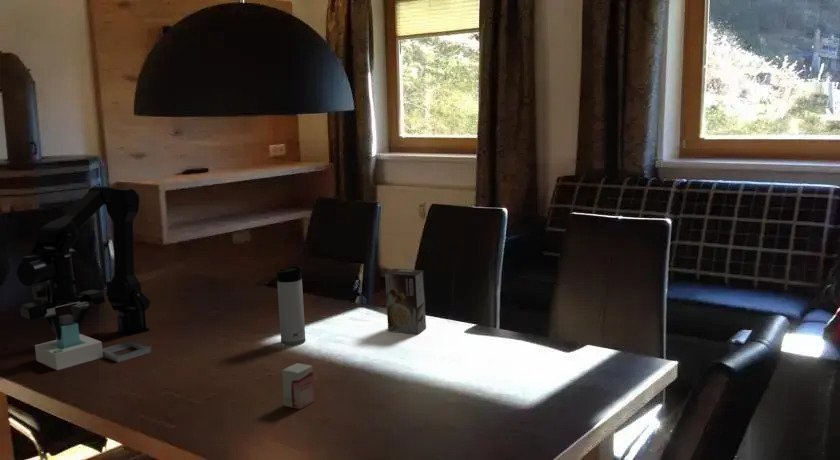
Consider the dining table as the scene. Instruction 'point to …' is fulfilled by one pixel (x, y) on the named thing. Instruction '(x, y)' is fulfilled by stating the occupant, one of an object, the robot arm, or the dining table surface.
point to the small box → (298, 385)
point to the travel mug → (291, 306)
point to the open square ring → (118, 358)
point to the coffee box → (405, 301)
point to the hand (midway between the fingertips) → (67, 337)
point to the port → (68, 353)
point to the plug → (68, 332)
